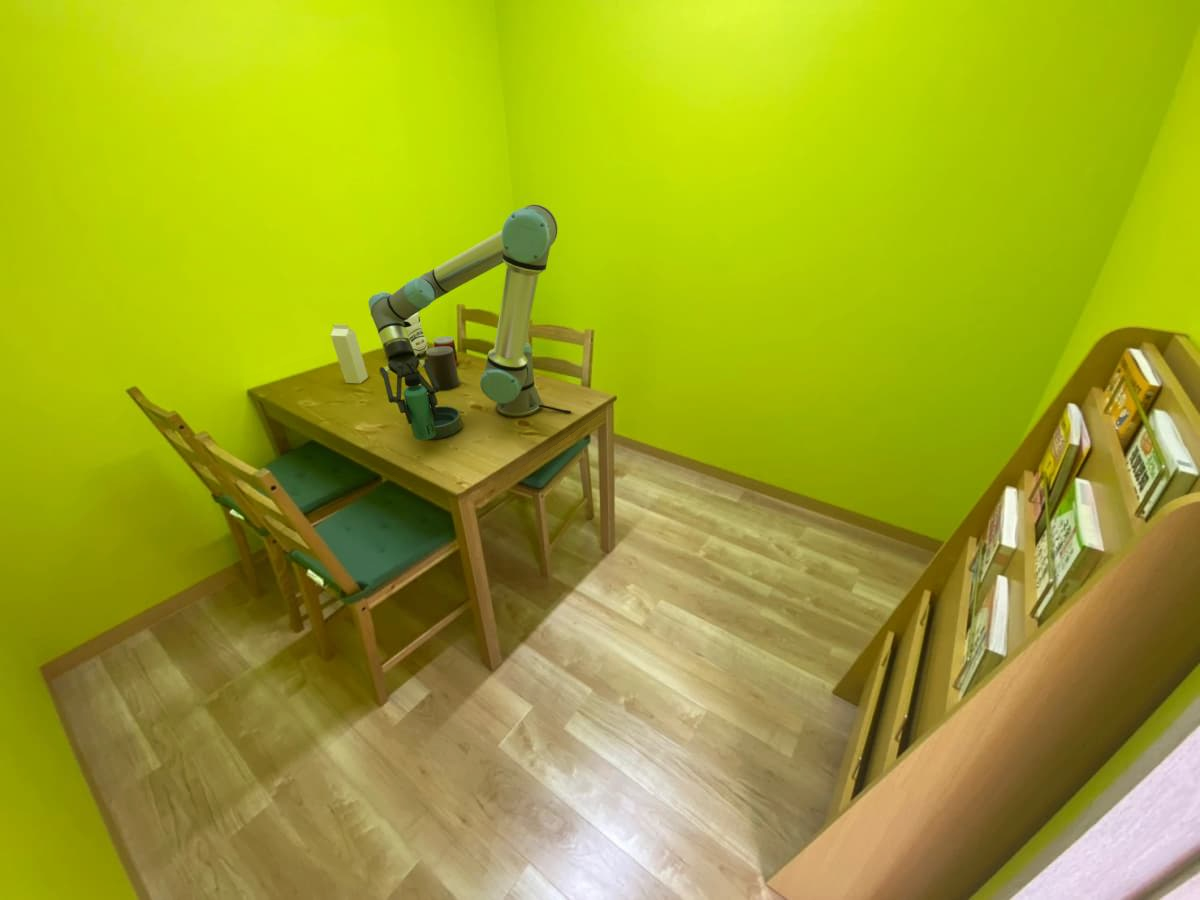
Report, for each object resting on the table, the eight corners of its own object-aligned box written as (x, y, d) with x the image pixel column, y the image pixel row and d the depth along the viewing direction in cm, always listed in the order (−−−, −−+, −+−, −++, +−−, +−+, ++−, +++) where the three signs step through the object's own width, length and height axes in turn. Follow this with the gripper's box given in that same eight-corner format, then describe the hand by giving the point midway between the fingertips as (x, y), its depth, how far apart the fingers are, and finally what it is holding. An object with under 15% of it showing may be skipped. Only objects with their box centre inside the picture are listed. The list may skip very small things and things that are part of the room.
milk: (360, 383, 183) (343, 327, 171) (345, 383, 183) (327, 327, 171) (368, 377, 188) (352, 322, 176) (354, 376, 189) (337, 321, 177)
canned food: (440, 362, 201) (435, 336, 195) (459, 361, 202) (454, 335, 196) (436, 369, 195) (431, 343, 189) (456, 368, 195) (452, 342, 189)
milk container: (428, 360, 202) (419, 318, 193) (385, 364, 199) (373, 322, 189) (430, 346, 217) (422, 307, 207) (390, 350, 213) (380, 310, 204)
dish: (466, 417, 159) (464, 405, 156) (456, 439, 147) (454, 427, 144) (423, 418, 159) (420, 406, 156) (410, 440, 147) (407, 428, 144)
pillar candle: (449, 392, 176) (441, 353, 168) (427, 388, 179) (419, 349, 171) (464, 381, 184) (458, 344, 176) (443, 378, 187) (436, 341, 179)
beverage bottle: (431, 446, 137) (416, 382, 126) (410, 443, 138) (394, 380, 127) (441, 434, 142) (429, 372, 132) (421, 432, 144) (407, 370, 133)
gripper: (430, 345, 144) (456, 415, 141) (361, 358, 135) (387, 432, 132) (432, 333, 137) (459, 405, 134) (359, 346, 129) (386, 423, 126)
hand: (423, 419), depth 133 cm, fingers closed on beverage bottle, 6 cm apart
